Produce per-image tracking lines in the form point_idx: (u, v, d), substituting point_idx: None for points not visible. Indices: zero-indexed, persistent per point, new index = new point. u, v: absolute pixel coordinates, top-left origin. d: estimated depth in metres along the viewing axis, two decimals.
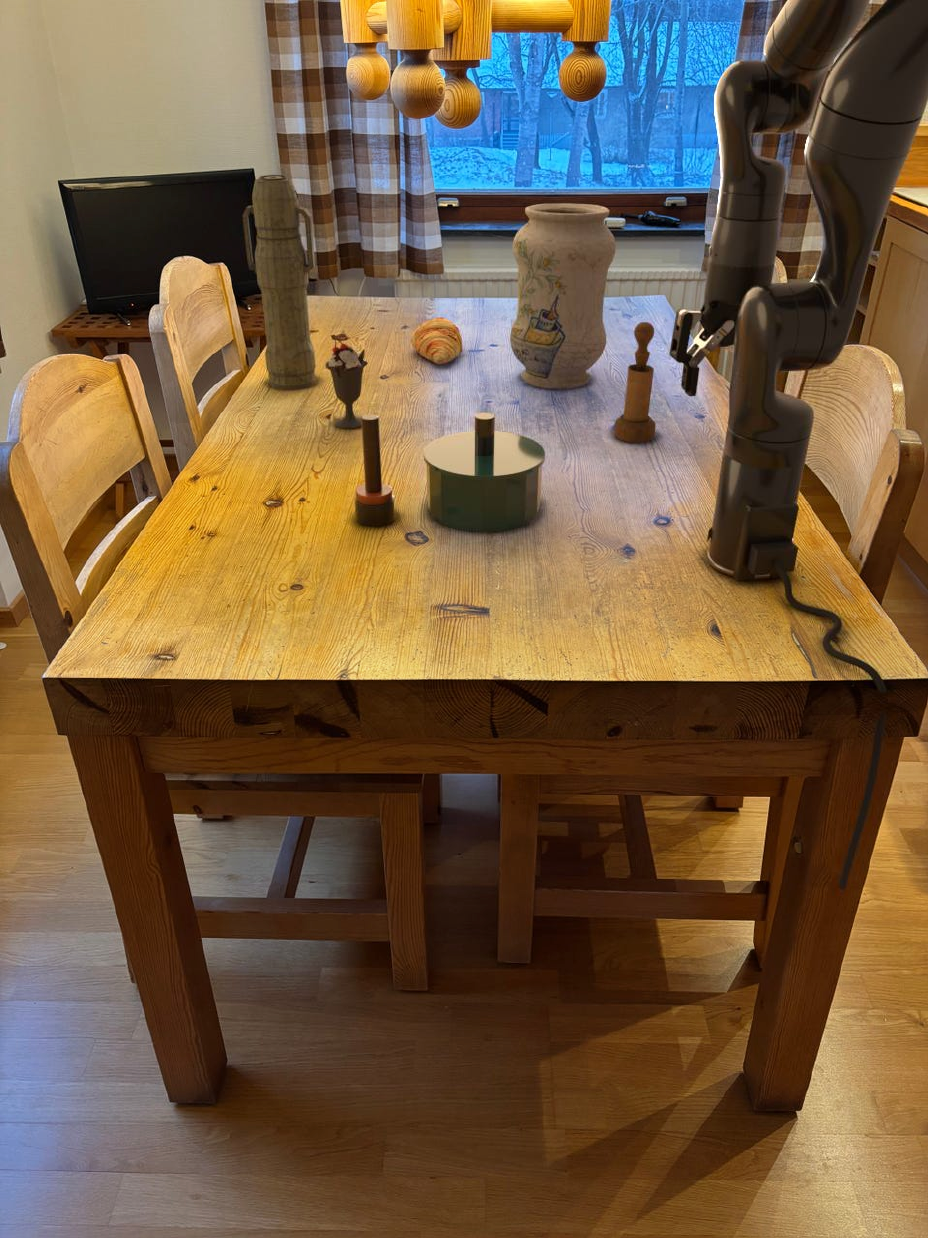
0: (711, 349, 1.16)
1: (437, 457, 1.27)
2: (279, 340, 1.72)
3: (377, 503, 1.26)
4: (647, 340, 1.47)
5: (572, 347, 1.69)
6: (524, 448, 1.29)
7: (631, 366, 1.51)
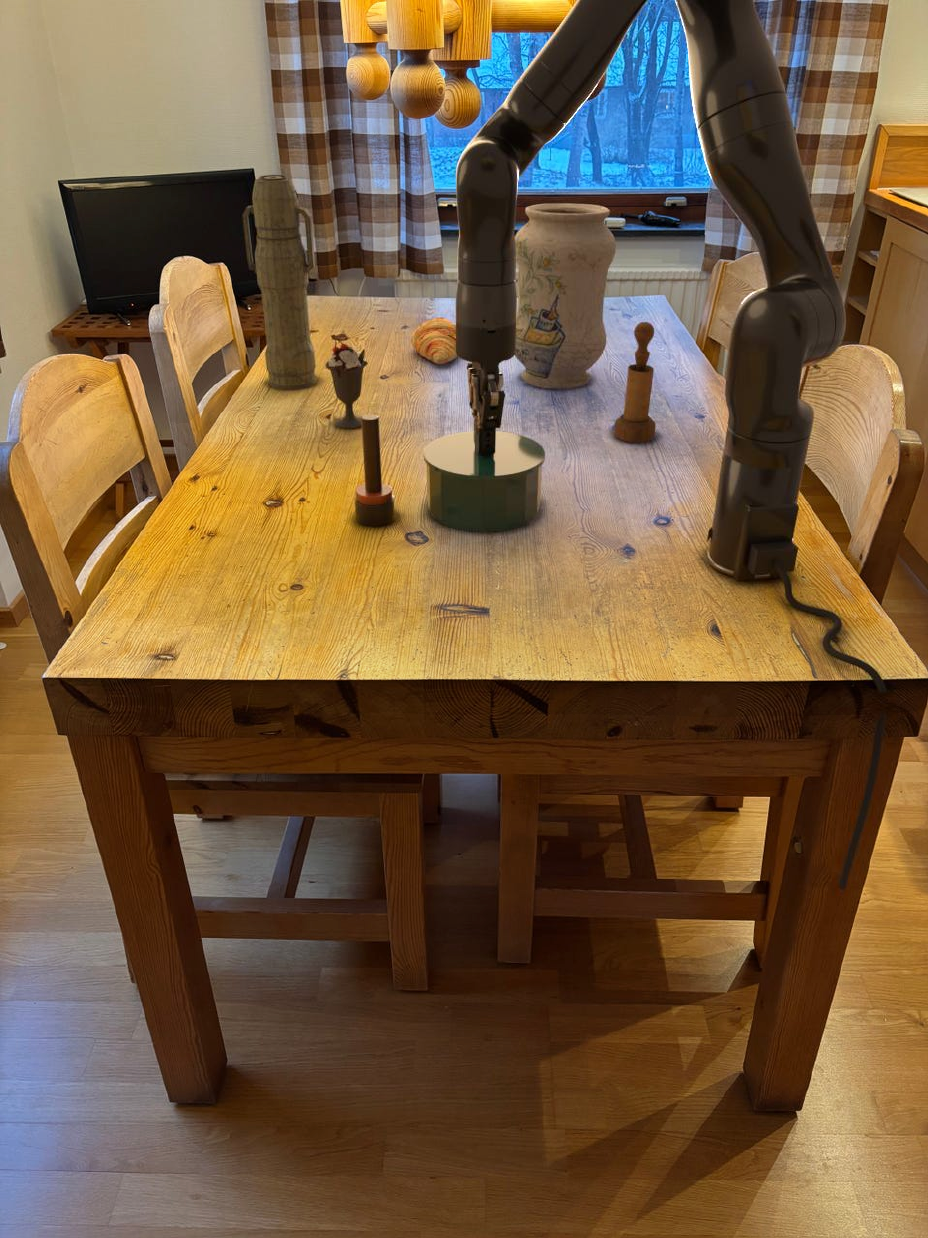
0: (470, 398, 1.25)
1: (437, 457, 1.27)
2: (279, 340, 1.72)
3: (377, 503, 1.26)
4: (647, 340, 1.47)
5: (572, 347, 1.69)
6: (524, 448, 1.29)
7: (631, 366, 1.51)
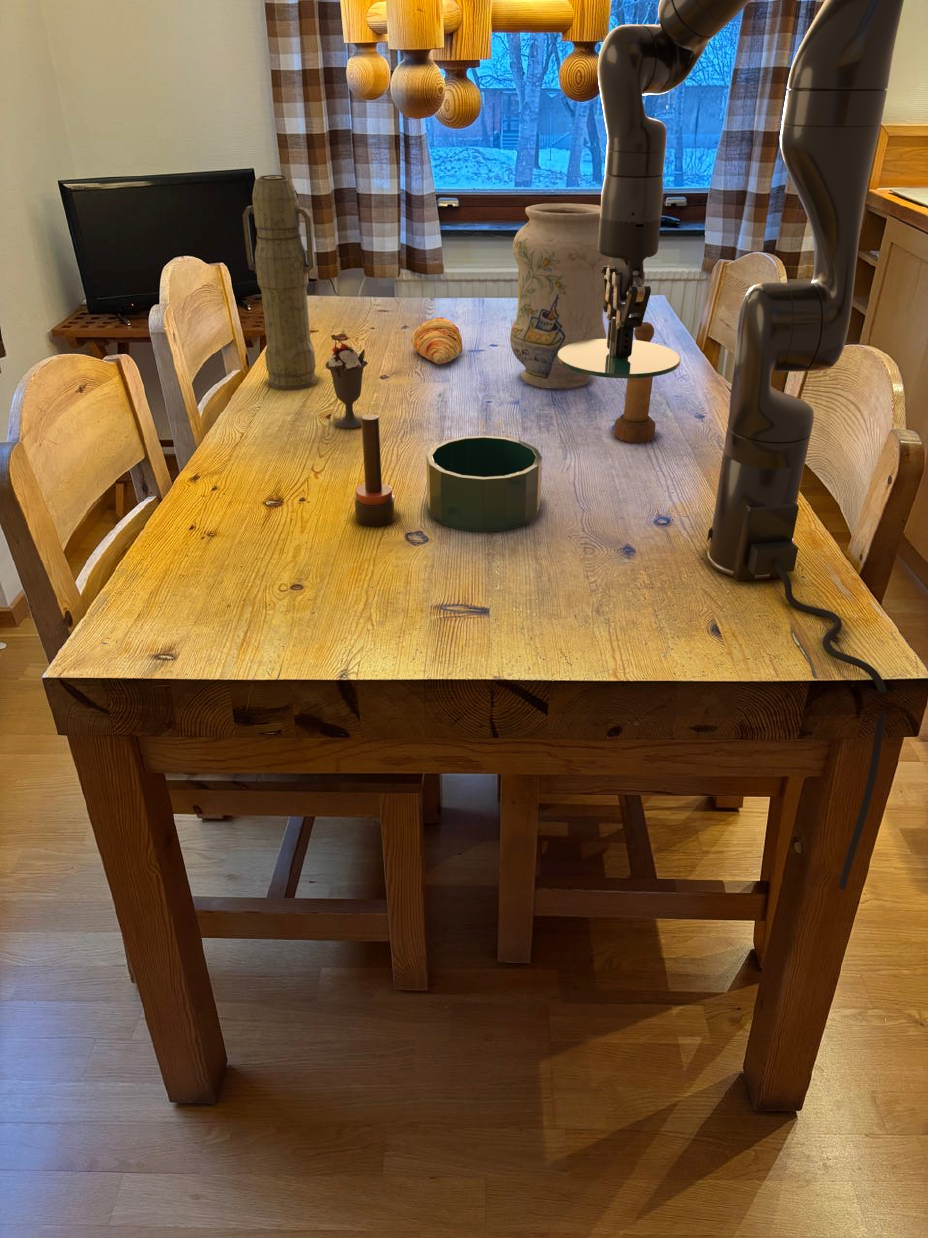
0: (607, 299, 1.26)
1: (573, 359, 1.27)
2: (279, 340, 1.72)
3: (377, 503, 1.26)
4: (647, 340, 1.47)
5: None
6: (657, 352, 1.30)
7: None
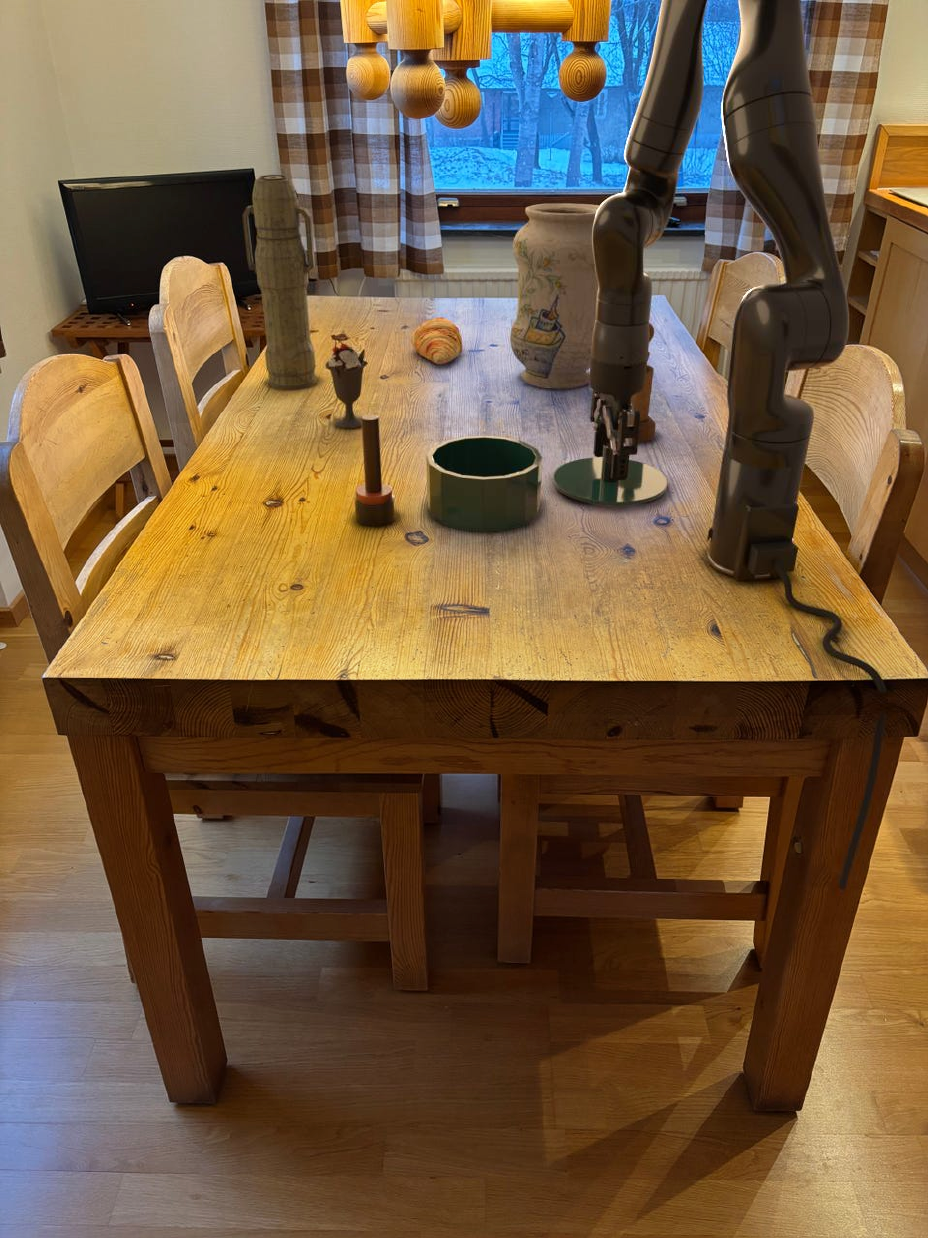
0: (595, 419, 1.36)
1: (567, 483, 1.37)
2: (279, 340, 1.72)
3: (377, 503, 1.26)
4: None
5: (572, 347, 1.69)
6: (646, 475, 1.39)
7: None
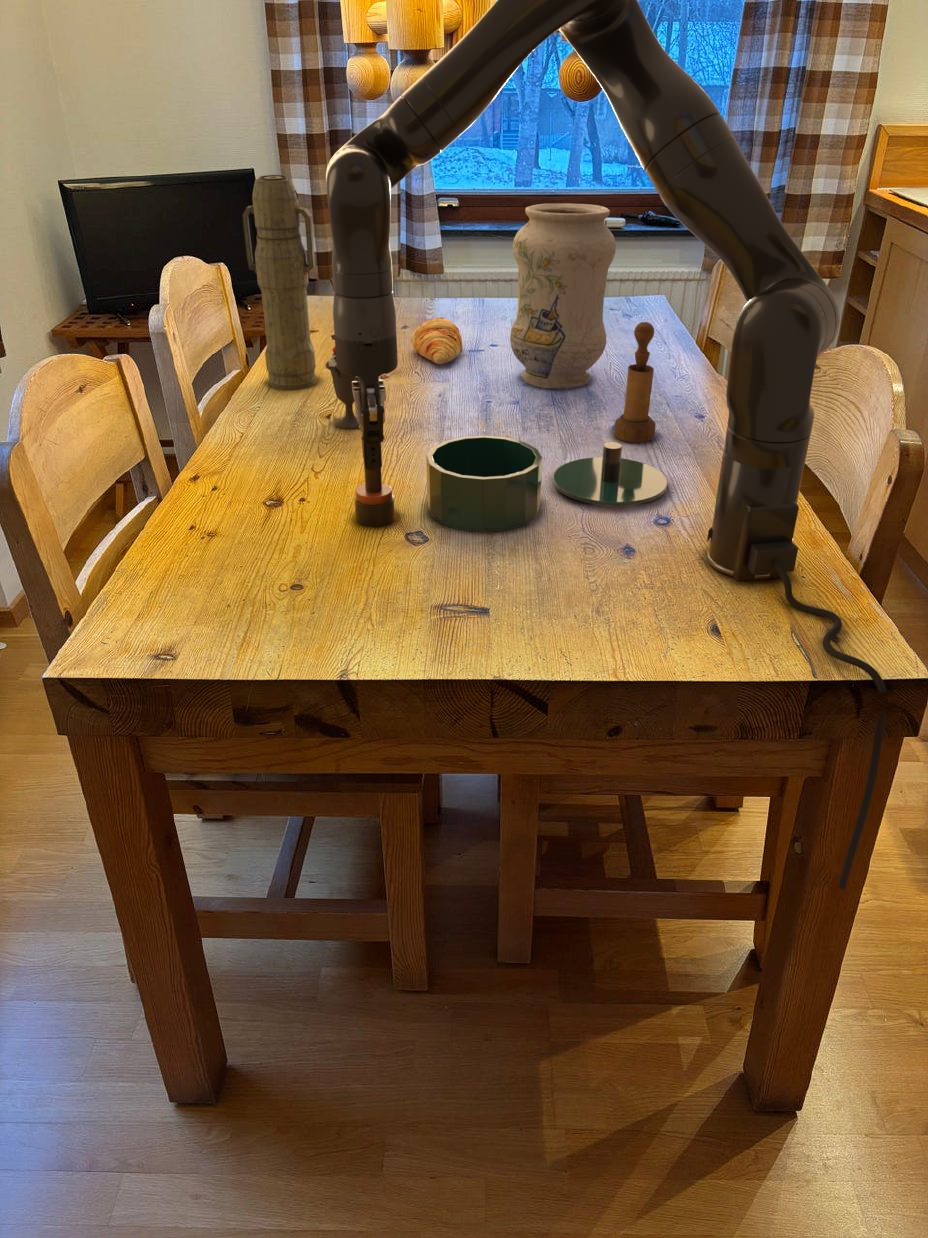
0: None
1: (567, 483, 1.37)
2: (279, 340, 1.72)
3: (377, 503, 1.26)
4: (647, 340, 1.47)
5: (572, 347, 1.69)
6: (646, 475, 1.39)
7: (631, 366, 1.51)
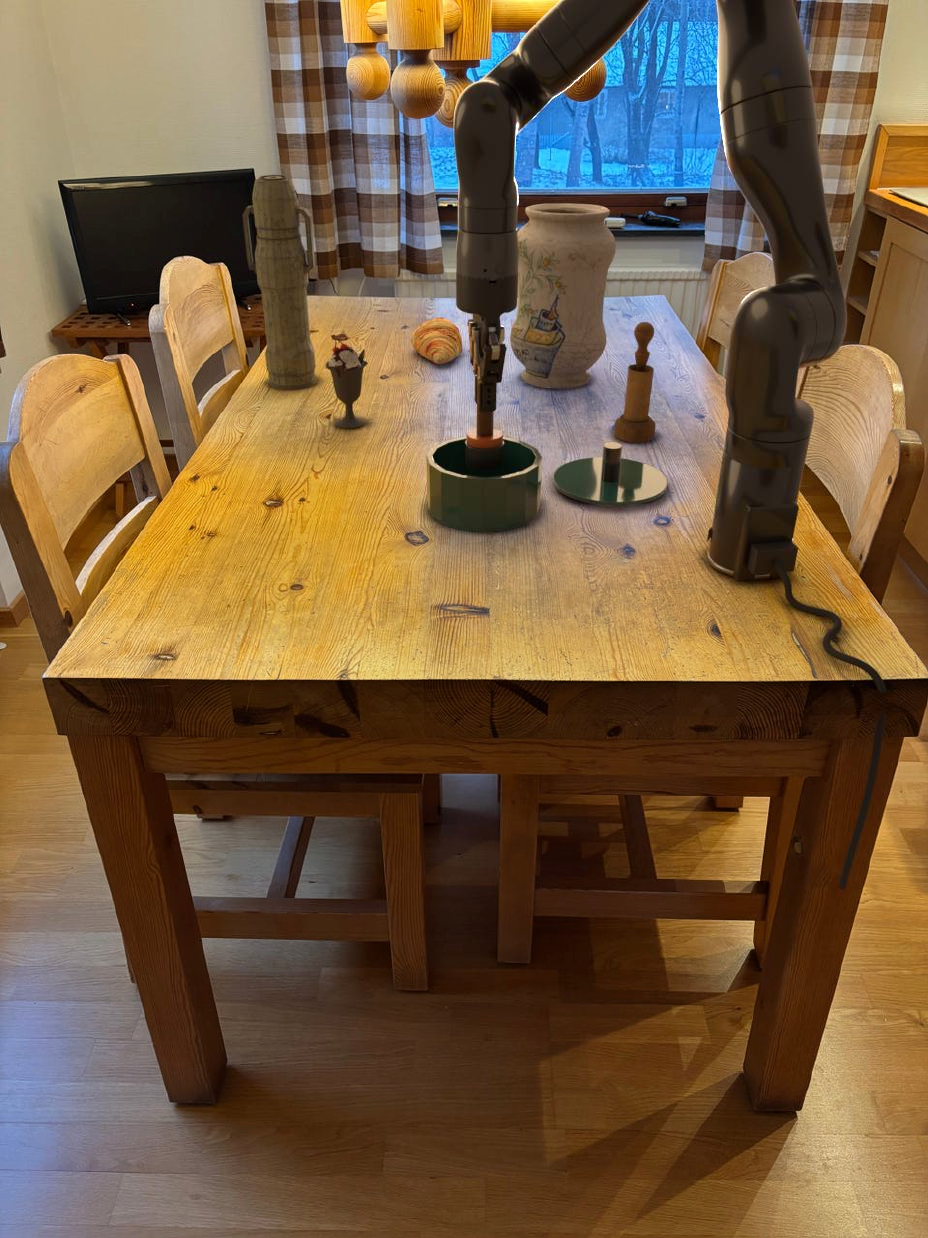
0: (470, 353, 1.22)
1: (567, 483, 1.37)
2: (279, 340, 1.72)
3: (489, 447, 1.26)
4: (647, 340, 1.47)
5: (572, 347, 1.69)
6: (646, 475, 1.39)
7: (631, 366, 1.51)
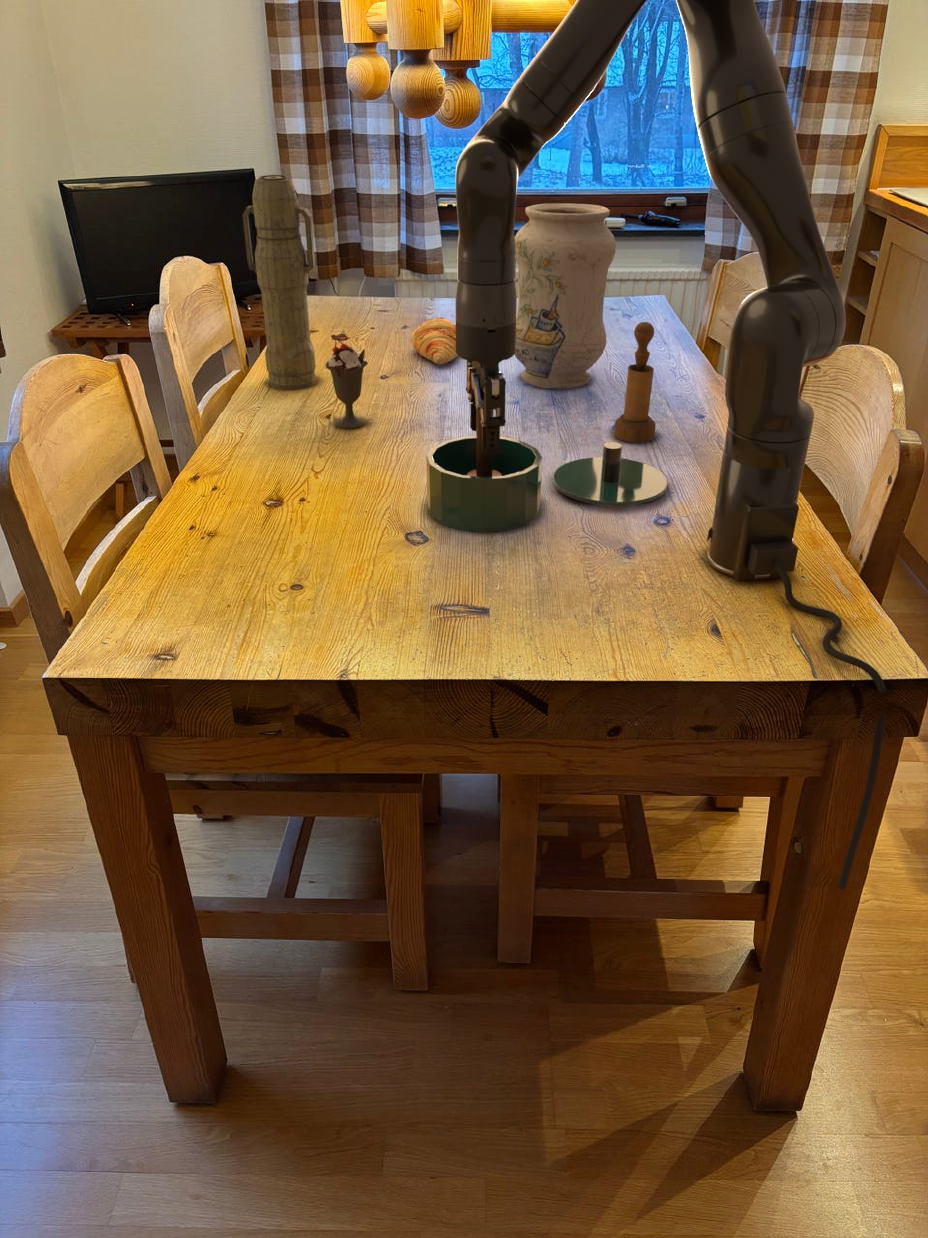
0: (467, 390, 1.27)
1: (567, 483, 1.37)
2: (279, 340, 1.72)
3: None
4: (647, 340, 1.47)
5: (572, 347, 1.69)
6: (646, 475, 1.39)
7: (631, 366, 1.51)
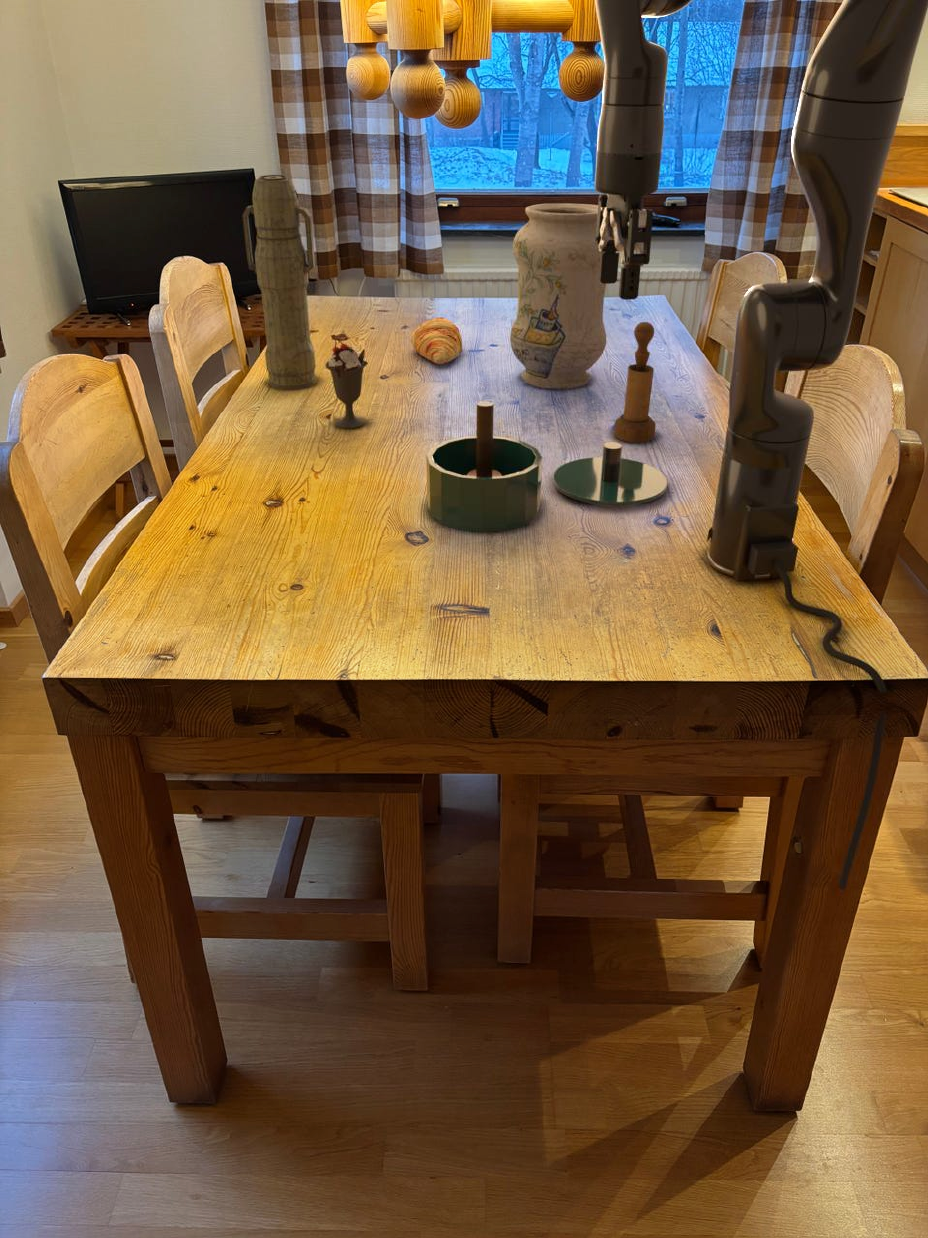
0: (601, 235, 1.20)
1: (567, 483, 1.37)
2: (279, 340, 1.72)
3: None
4: (647, 340, 1.47)
5: (572, 347, 1.69)
6: (646, 475, 1.39)
7: (631, 366, 1.51)
